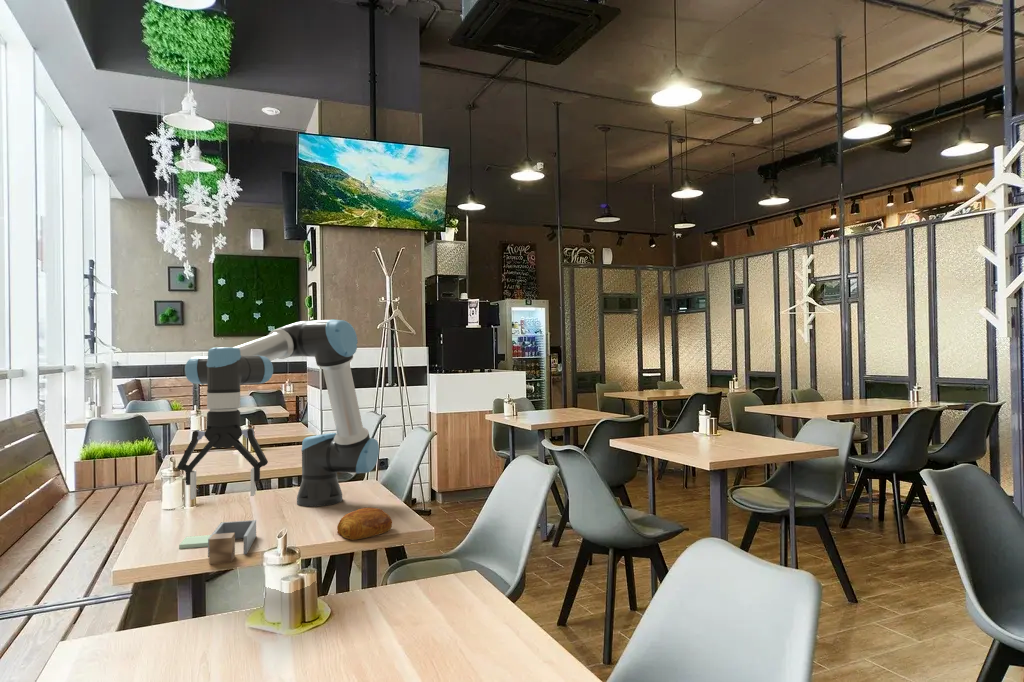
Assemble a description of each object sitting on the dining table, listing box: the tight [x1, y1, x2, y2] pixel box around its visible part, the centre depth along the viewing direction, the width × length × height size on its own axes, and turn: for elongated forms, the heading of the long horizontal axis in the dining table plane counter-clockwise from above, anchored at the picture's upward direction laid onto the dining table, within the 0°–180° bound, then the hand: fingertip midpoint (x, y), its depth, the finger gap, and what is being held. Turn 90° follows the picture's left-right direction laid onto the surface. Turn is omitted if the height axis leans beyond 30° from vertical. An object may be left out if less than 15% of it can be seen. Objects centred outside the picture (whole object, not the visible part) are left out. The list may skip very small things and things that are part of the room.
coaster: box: [178, 534, 212, 550], centre depth 175 cm, size 8×8×1 cm
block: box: [208, 533, 236, 565], centre depth 160 cm, size 5×5×6 cm
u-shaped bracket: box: [207, 519, 257, 558], centre depth 172 cm, size 9×17×4 cm, turn 14°
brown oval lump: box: [336, 507, 393, 541], centre depth 184 cm, size 14×16×8 cm
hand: (223, 496), depth 159 cm, fingers open, 13 cm apart
